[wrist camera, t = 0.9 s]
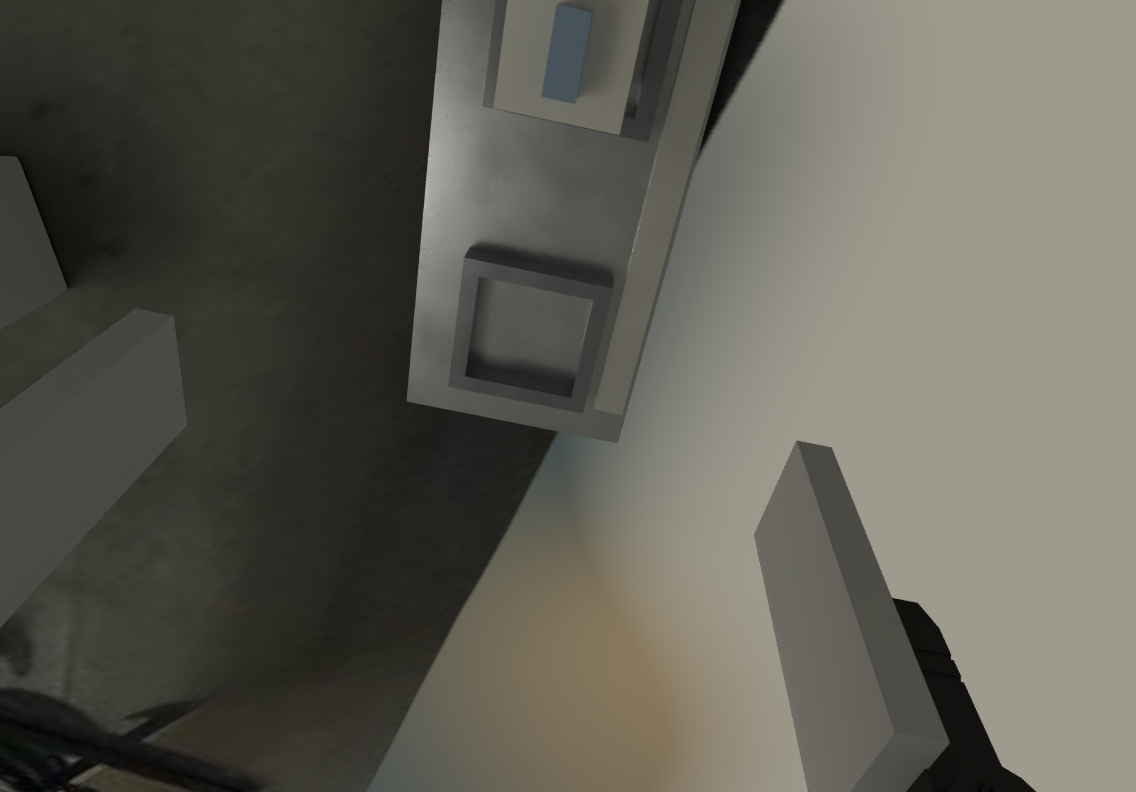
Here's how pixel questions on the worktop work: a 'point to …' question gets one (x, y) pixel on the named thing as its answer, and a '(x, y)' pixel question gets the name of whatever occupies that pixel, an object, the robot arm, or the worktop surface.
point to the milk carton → (23, 248)
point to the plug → (570, 60)
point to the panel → (553, 225)
